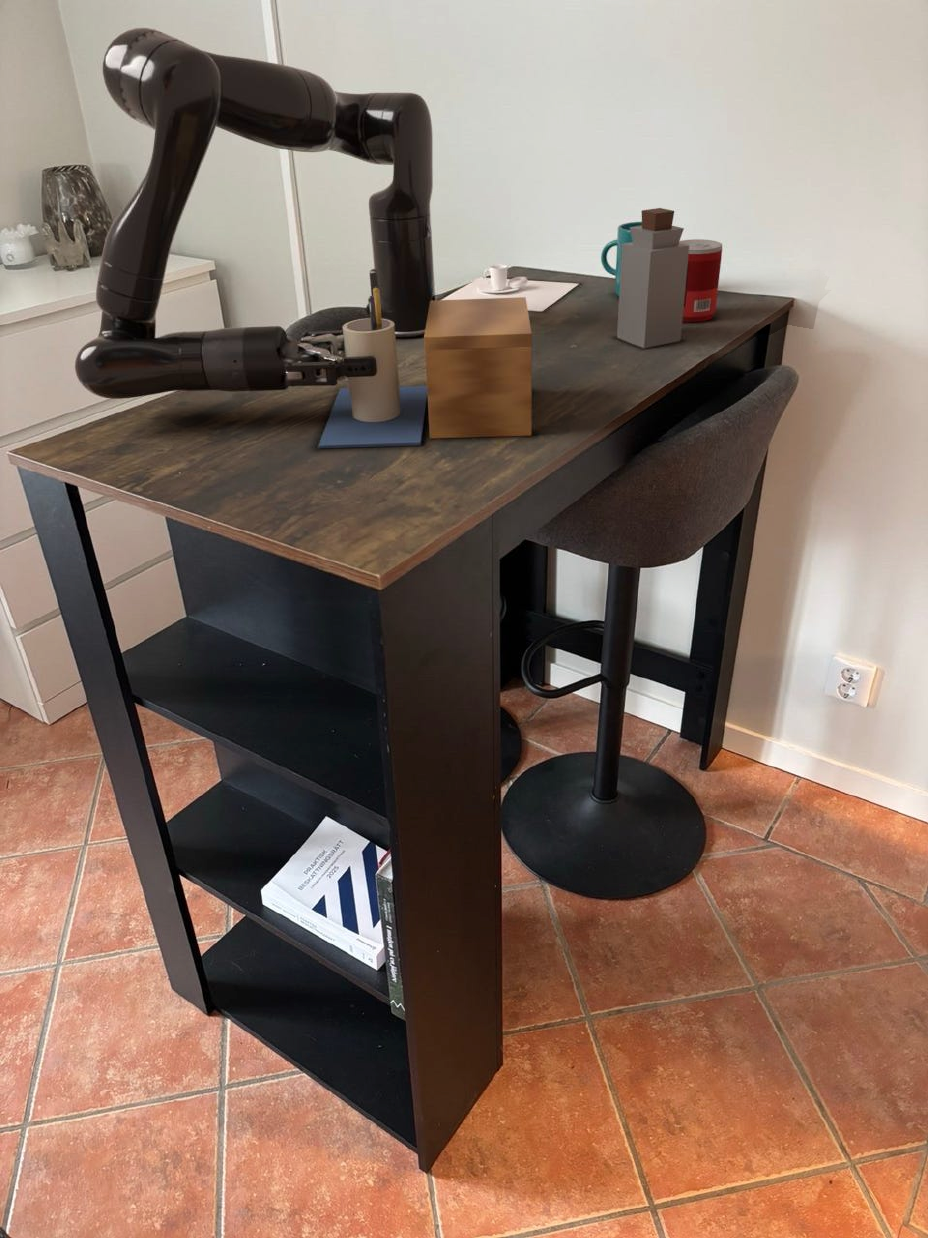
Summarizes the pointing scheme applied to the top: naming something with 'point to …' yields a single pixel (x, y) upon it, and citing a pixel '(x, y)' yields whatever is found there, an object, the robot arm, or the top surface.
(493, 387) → the wooden shelf box
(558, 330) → the top surface
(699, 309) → the canned food
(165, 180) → the robot arm
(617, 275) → the cup
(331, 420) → the mat
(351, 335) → the holder
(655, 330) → the perfume bottle
